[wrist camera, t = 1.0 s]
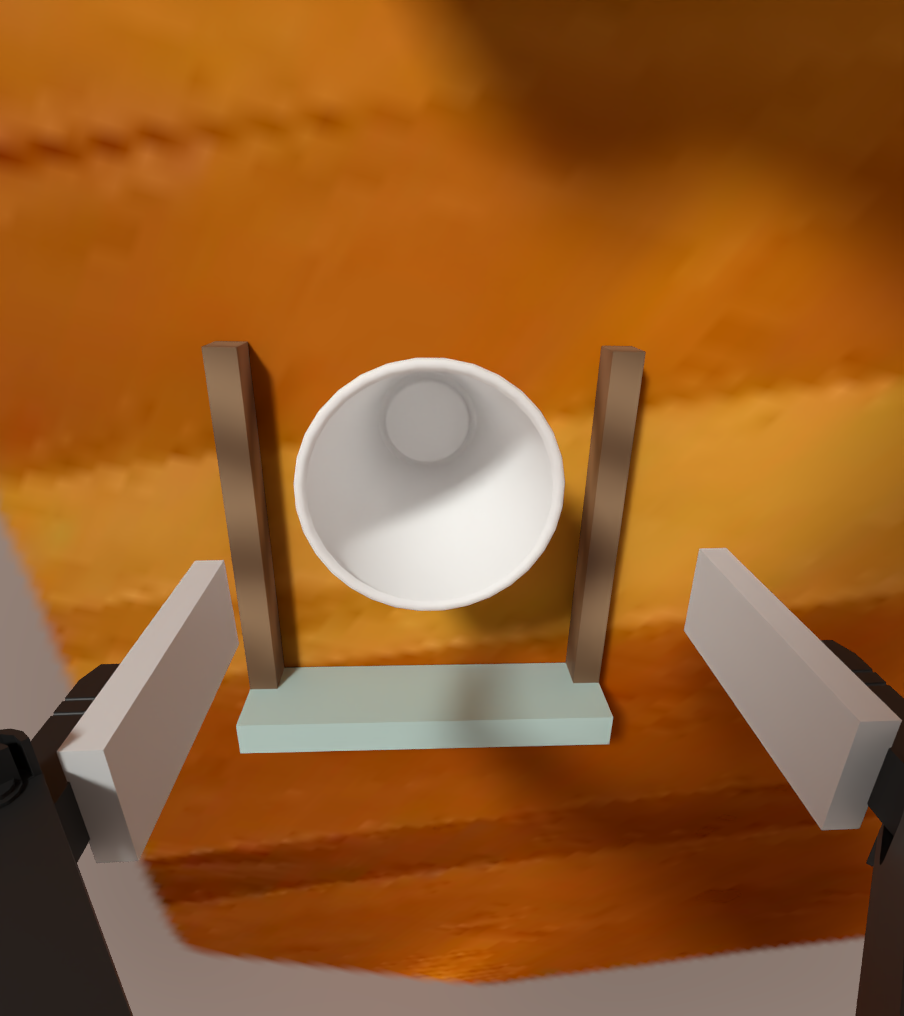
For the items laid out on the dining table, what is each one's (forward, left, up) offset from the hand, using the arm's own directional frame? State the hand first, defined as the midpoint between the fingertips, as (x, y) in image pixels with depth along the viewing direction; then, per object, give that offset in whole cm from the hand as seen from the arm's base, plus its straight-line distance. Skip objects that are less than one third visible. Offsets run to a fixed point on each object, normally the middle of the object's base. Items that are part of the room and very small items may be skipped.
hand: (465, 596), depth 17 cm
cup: (-1, -1, -17) cm, 17 cm away
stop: (+16, -1, -17) cm, 23 cm away
